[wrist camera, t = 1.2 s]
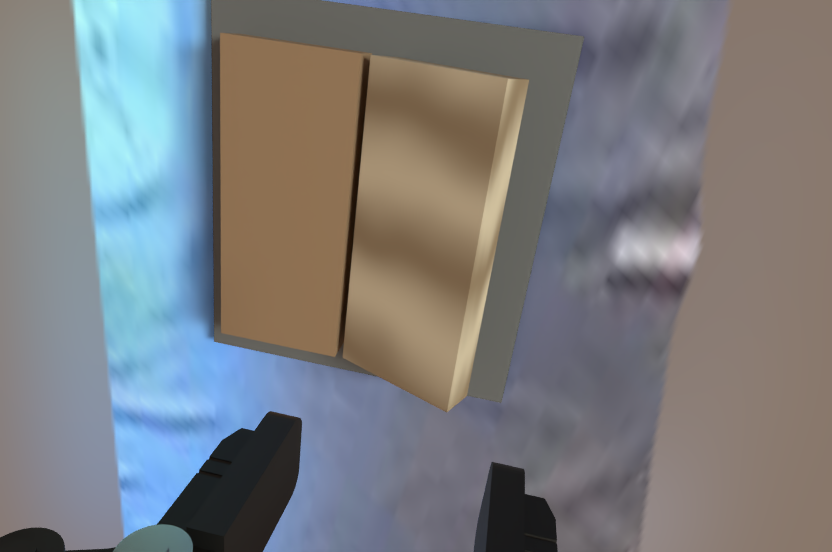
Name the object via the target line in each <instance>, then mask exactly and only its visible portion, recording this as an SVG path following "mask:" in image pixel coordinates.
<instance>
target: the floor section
mask: <svg viewBox="0 0 832 552" xmlns="http://www.w3.org/2000/svg"><path fill="white" fill-rule="evenodd" d="M211 26H212V141H213V256H214V342H218V343H223V344H228V345H232V346H237V347H242V348H247V349H251V350H256V351H261V352H265V353H270V354H275V355H279V356H284V357H289V358H293V359H298V360H303V361H307V362H312V363H317V364H322V365H326V366H331V367H336V368H340V369H345V370H350V371H354V372H359V373H364V374H368V375H373V376H377V375H375V374H373V373H371V372H369V371H367V370H365V369H363V368H361V367H360V366H358V365H356V364H354V363H352V362H350V361H348V360H346V359H344V358H343V348H344V337H345V326H346V315H347V305H348V294H349V283H350V272H351V261H352V251H353V240H354V229H355V218H356V208H357V197H358V186H359V175H360V164H361V154H362V143H363V132H364V121H365V111H366V100H367V89H368V78H369V67H370V57H371V55H379V56H391V57H400V58H406V59H412V60H418V61H424V62H429V63H435V64H441V65H447V66H453V67H459V68H464V69H470V70H476V71H482V72H488V73H493V74H499V75H505V76H511V77H517V78H523V79H528V80H529V83H528V89H527V94H526V99H525V104H524V109H523V114H522V119H521V124H520V129H519V134H518V139H517V144H516V149H515V154H514V160H513V165H512V170H511V175H510V180H509V185H508V190H507V195H506V200H505V205H504V210H503V215H502V220H501V225H500V231H499V236H498V241H497V246H496V251H495V256H494V261H493V266H492V271H491V276H490V281H489V286H488V291H487V296H486V302H485V307H484V312H483V317H482V322H481V327H480V332H479V337H478V342H477V347H476V352H475V357H474V362H473V367H472V373H471V378H470V383H469V388H468V393H467V396H472V397H476V398H481V399H486V400H490V401H495V402H500V403H501V402H502V397H503V393H504V388H505V384H506V380H507V375H508V371H509V366H510V362H511V358H512V353H513V349H514V344H515V340H516V336H517V331H518V327H519V322H520V318H521V313H522V309H523V305H524V300H525V296H526V291H527V287H528V283H529V278H530V274H531V269H532V265H533V260H534V256H535V252H536V247H537V243H538V238H539V234H540V230H541V225H542V221H543V216H544V212H545V208H546V203H547V199H548V194H549V190H550V185H551V181H552V177H553V172H554V168H555V163H556V159H557V155H558V150H559V146H560V141H561V137H562V132H563V128H564V124H565V119H566V115H567V110H568V106H569V102H570V97H571V93H572V88H573V84H574V80H575V75H576V71H577V66H578V62H579V57H580V53H581V49H582V44H583V40H584V37H583V36H576V35H568V34H561V33H554V32H547V31H539V30H532V29H525V28H518V27H510V26H503V25H496V24H489V23H481V22H474V21H467V20H460V19H452V18H445V17H438V16H431V15H423V14H416V13H409V12H402V11H395V10H387V9H380V8H373V7H366V6H358V5H351V4H344V3H337V2H329V1H322V0H211ZM378 377H379V376H378Z"/></svg>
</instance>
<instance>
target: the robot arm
mask: <svg viewBox="0 0 832 552" xmlns="http://www.w3.org/2000/svg"><path fill="white" fill-rule="evenodd" d="M301 431H302V421H301V418H298V417H294V416H289V415H285V414H280V413H276V412H271V411H270V412H268V413H267V414H266V415H265V417H264V418H263V419H262V421H261V422H260V424H259V425H258V427H257V428H256V429H255V431H252V430H248V429H243V428H241V429H239V430H238V431H236V432H235V433H233V434H231V435H230V436H228V437H227V438H225V439H223V440H222V441H221V442H220V444H219V445H218V446H217V448H216V449H215V450H214V451H213V453H212V454H211V455H210V458H209V460H207V461H206V462H205V463H204V464H203V466H202V467H201V468H200V470H199V473H196V475H195V476H194V477H193V479H192V480H191V481H190V482H189V484H188V485H187V486H186V488H185V489H184V490H183V492H182V493H181V494H180V495H179V497H178V498H177V499H176V501H175V502H174V503H173V504H172V506H171V507H170V508H169V510H168V511H167V512H166V513H165V515H164V516H163V517H162V519H161V520H160V521H159V523H158V524H157V525H152V526H148V527H145V528H142V529H139V530H137V531H135V532H133V533H131V534H130V535H128V536H127V537H126V538H124V539H123V540H122V541H121V542H120V543H119V544H118V545H117V547H115V548H109V549H93V550H72V551H71V550H70V551H65V545H64V541H63V539H62V537H61V536H60V535H59V534H58V533H57V532H55V531H53V530H50V529H46V528H28V529H22V530H18V531H15V532H12V533H9V534H7V535H5V536H3V537H0V552H263V550H264V548H265V546H266V544H267V542H268V540H269V539H270V537H271V535H272V533H273V531H274V529H275V527H276V525H277V523H278V521H279V519H280V518H281V516H282V514H283V512H284V510H285V508H286V506H287V504H288V502H289V500H290V498H291V496H292V494H293V491H294V489H295V486H296V482H297V478H298V473H299V462H300V446H301ZM556 541H557V535H556V519H555V517H554V515H553V513H552V511H551V510H550V508H549V506H548V504H547V502H546V500H545V499H544V498H540V497H536V496H531V495H527V494H525V471H524V469H521V468H517V467H513V466H508V465H504V464H499V463H495V462H492V463H491V466H490V470H489V474H488V479H487V483H486V487H485V492H484V496H483V500H482V505H481V509H480V513H479V518H478V524H477V530H476V537H475V545H474V552H558V551H557V544H556Z"/></svg>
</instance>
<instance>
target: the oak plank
mask: <svg viewBox="0 0 832 552" xmlns="http://www.w3.org/2000/svg"><path fill="white" fill-rule="evenodd" d="M528 83H529V80H528V79H523V78H517V77H511V76H505V75H499V74H493V73H488V72H482V71H476V70H470V69H464V68H459V67H453V66H447V65H441V64H435V63H429V62H424V61H418V60H412V59H406V58H400V57H391V56H379V55H371V57H370V67H369V78H368V89H367V100H366V111H365V121H364V132H363V143H362V154H361V164H360V175H359V186H358V197H357V208H356V218H355V229H354V240H353V251H352V261H351V272H350V283H349V294H348V305H347V315H346V326H345V337H344V348H343V358H344V359H346V360H348V361H350V362H352V363H354V364H356V365H358V366H360V367H361V368H363V369H365V370H367V371H369V372H371V373H373V374H375V375H377V376H379V377H380V378H382V379H384V380H386V381H388V382H390V383H392V384H394V385H396V386H398V387H399V388H401V389H403V390H405V391H407V392H409V393H411V394H413V395H415V396H417V397H418V398H420V399H422V400H424V401H426V402H428V403H430V404H432V405H434V406H436V407H438V408H439V409H441V410H443V411H445V412H448V411H449V410H450V409H452V408H453V407H454V406H455V405H456V404H458V403H459V402H460V401H461V400H463V399H464V398H465V397H466V396H467V393H468V388H469V383H470V378H471V373H472V367H473V362H474V357H475V352H476V347H477V342H478V337H479V332H480V327H481V322H482V317H483V312H484V307H485V302H486V296H487V291H488V286H489V281H490V276H491V271H492V266H493V261H494V256H495V251H496V246H497V241H498V236H499V231H500V225H501V220H502V215H503V210H504V205H505V200H506V195H507V190H508V185H509V180H510V175H511V170H512V165H513V160H514V154H515V149H516V144H517V139H518V134H519V129H520V124H521V119H522V114H523V109H524V104H525V99H526V94H527V89H528Z"/></svg>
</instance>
